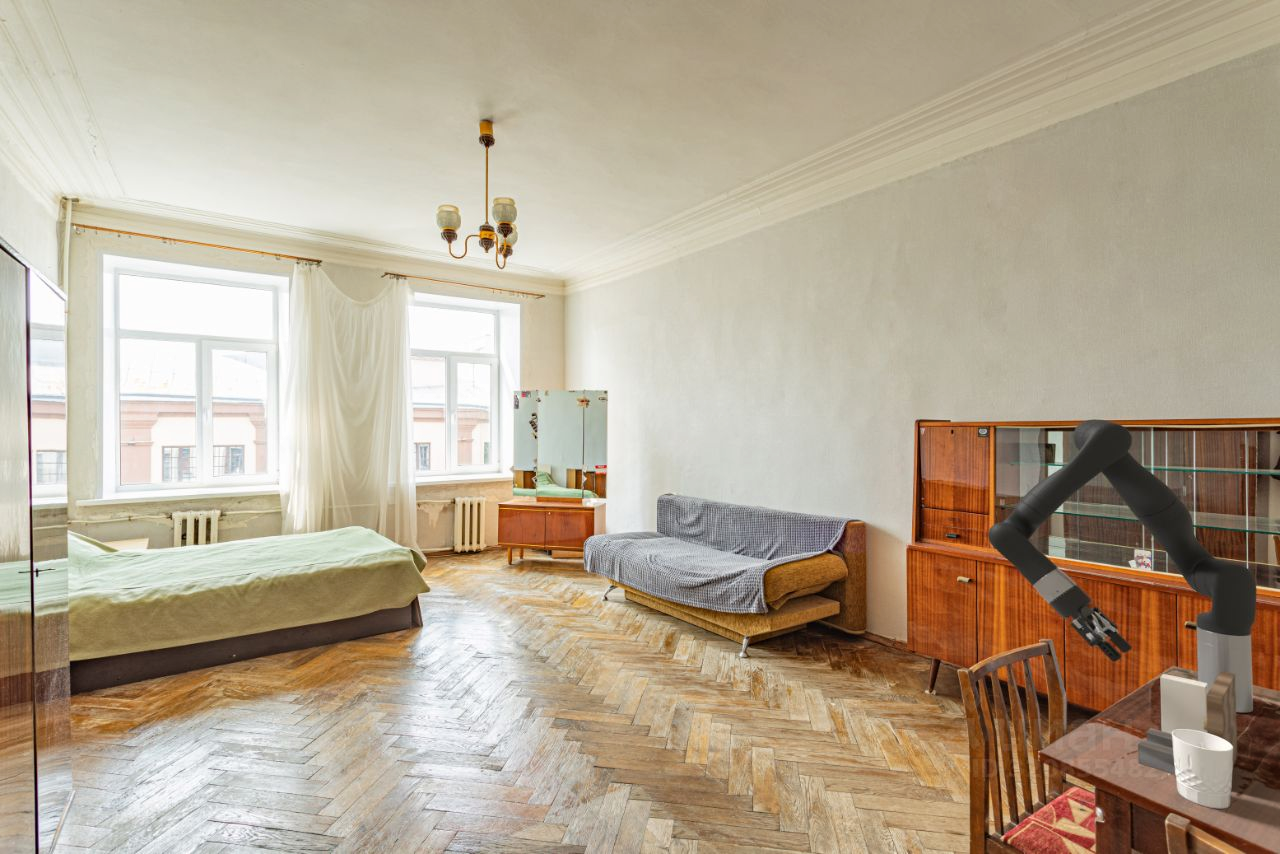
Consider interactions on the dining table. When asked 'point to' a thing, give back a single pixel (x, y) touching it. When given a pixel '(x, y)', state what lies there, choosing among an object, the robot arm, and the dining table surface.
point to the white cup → (1203, 767)
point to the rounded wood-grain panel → (1217, 723)
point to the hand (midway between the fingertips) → (1123, 655)
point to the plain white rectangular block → (1182, 703)
